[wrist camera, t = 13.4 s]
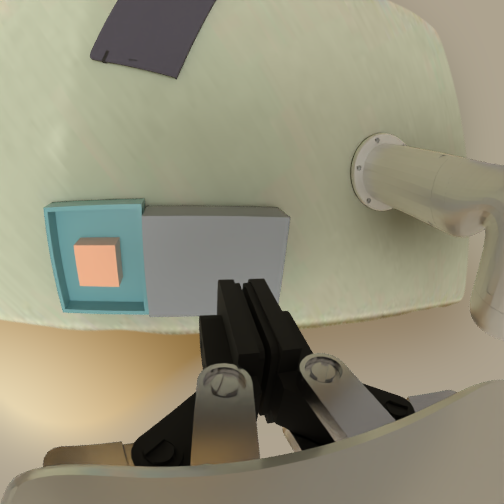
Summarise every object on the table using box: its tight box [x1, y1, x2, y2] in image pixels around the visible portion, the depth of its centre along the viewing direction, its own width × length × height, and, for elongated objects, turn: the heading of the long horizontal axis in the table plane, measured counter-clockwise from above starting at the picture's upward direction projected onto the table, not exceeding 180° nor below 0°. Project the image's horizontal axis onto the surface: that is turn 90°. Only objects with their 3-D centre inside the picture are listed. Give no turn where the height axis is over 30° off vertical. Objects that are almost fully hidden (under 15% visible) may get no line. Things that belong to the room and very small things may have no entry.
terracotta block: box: [74, 237, 123, 287], centre depth 36 cm, size 6×6×3 cm
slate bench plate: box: [142, 206, 290, 317], centre depth 39 cm, size 18×14×5 cm
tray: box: [44, 199, 149, 314], centre depth 36 cm, size 14×16×3 cm
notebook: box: [90, 0, 216, 79], centre depth 25 cm, size 13×2×21 cm
